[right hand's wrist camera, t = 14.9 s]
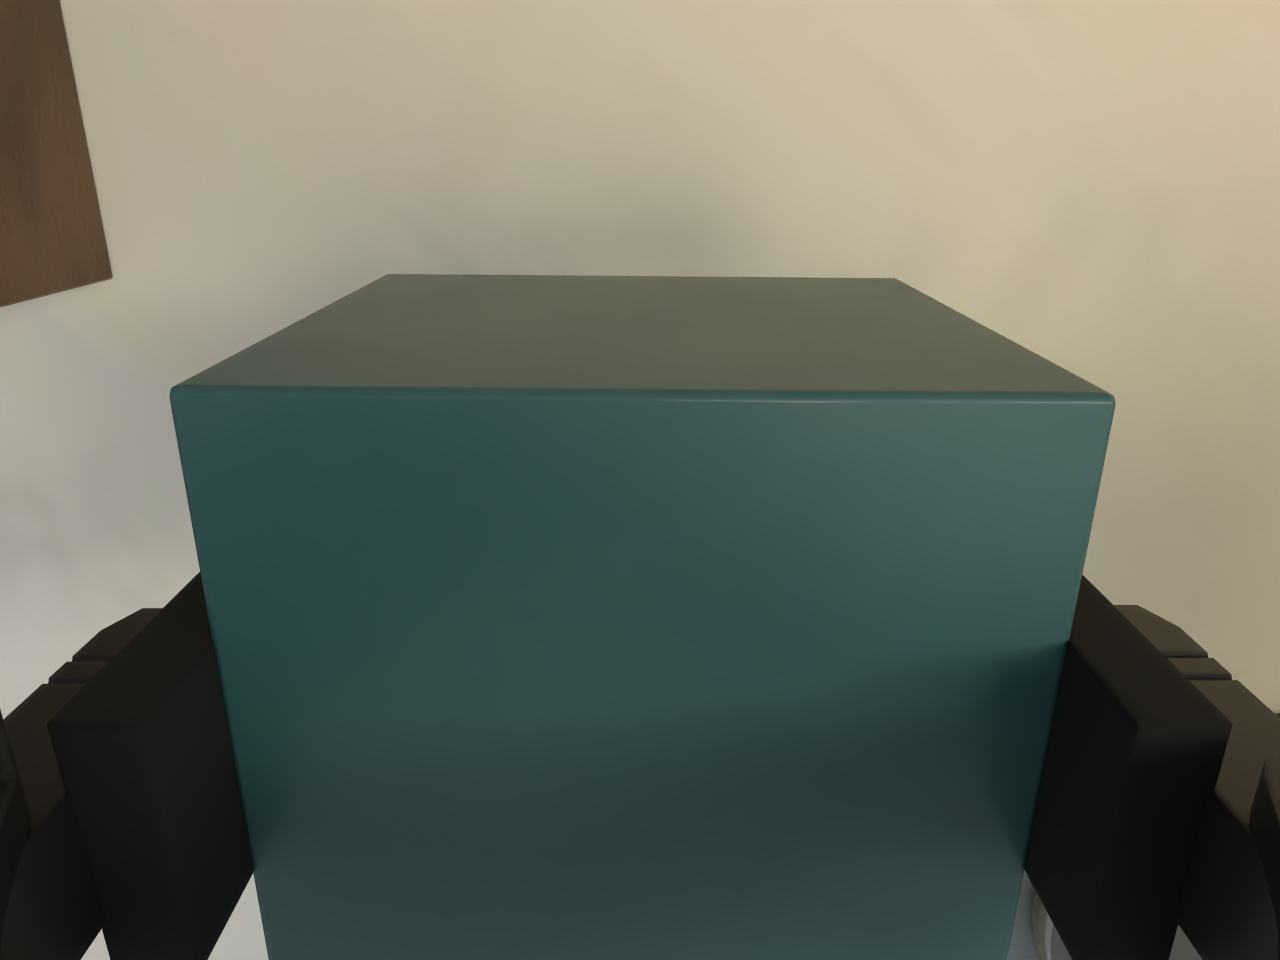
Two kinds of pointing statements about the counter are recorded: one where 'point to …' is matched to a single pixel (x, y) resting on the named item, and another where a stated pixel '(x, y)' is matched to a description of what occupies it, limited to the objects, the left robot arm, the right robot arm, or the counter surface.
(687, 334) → the cap block
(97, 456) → the counter surface
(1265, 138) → the counter surface
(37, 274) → the plank
